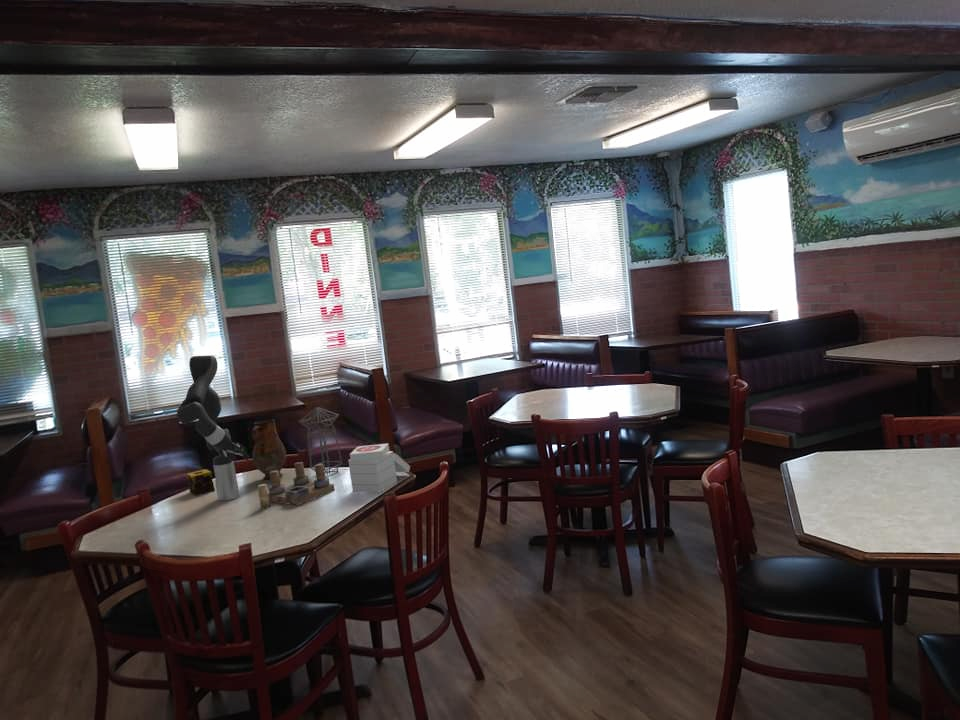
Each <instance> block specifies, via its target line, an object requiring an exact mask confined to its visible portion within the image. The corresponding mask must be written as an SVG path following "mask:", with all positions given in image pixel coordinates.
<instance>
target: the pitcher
mask: <svg viewBox="0 0 960 720" xmlns="http://www.w3.org/2000/svg"><path fill="white" fill-rule="evenodd" d="M253 425H254V427H253V428H252V429H251V430H252V431H251V436H252V439H253V441H254V442H255V443H254V447H253V449H252V461H253V465H254V466H255V467H256V469H257V470H258V471H260V473H262V474H263V475H264V477H263V478H262V480H263V481H265V480H270V481H271V479H270V472H271V471H279V477H281V476H282V475H283V476H284V474H283V473H281V471H282V468H283V467H284V466H285V463H286V460H287V451H286V447H285V445H284V443H283V442H282V441H281V438H280V437H279V435H278V432H277V427H276V420H275V419H273V418H272V419H267V420H258V421H255V422H253ZM283 476H282V477H283ZM282 477H281V478H282Z"/></svg>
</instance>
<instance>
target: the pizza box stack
mask: <svg viewBox="0 0 960 720" xmlns="http://www.w3.org/2000/svg"><path fill="white" fill-rule="evenodd" d="M349 457H350V459H348V460H347V461H348V466H349V474H350V480H351V488H352V492H360V493H361V492H362V493H365V492H366V493H367V492H368V493H369V492H371V493H380V492H379V491H381V490H383V489H384V490H386V489H388V488H390V487H392V486H393V485H395V484H396V483H398V478H397V473H410V469H411V465H409V463H407V462H406V461H405V460H404V459H403V458H401V457H400V456H399V455H398V454H397V453H396V452H395V453H394V451H391V450H390V445H389V443H379V444H371V445H361V446H360V445H359V446H357V447H355V449H353V450H352V451H351V452H350V453H349ZM394 483H395V484H394ZM389 486H390V487H389ZM387 487H388V488H387ZM385 488H386V489H385ZM384 490H383V491H384ZM376 491H378V492H376ZM381 492H382V491H381Z"/></svg>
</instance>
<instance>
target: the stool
mask: <svg viewBox="0 0 960 720" xmlns="http://www.w3.org/2000/svg"><path fill="white" fill-rule="evenodd" d="M324 465H325V464H324ZM324 465H323V463H322V464H319V463H317V464H314V466H315V467H314V469H315V471H314V472H315V477H316V479H313V481H310V478H309V475H306V473H305V467H304V462H303V461H300V462H296V463H294V471H295V477H293V484H291V485H287V486H285V484H282V483H281V478H280V477H279V471H271V472H270V479H271V480H270V485H271V486H269V487H268V495H269V502H270V501H274V502H273V503H277V502H281V503H280V504H284V503H289V504H288V505H291V504H296V505H295V506H299V505H298V504H300V503H302V504H304V503H303V502H305V501H307V500H310V499H312V500H314V499H313V498H315V497H317V498H319V497H318V496H320V497H322V496H324V495H323V494H325V495H327V494H329V492H330V493H331V491H332V492H333V491H335V484H334V483H330V478H329V477H327V476H326V473H325V471H324ZM326 493H327V494H326ZM321 495H322V496H321ZM315 499H316V498H315ZM310 501H311V500H310ZM307 502H308V501H307ZM305 503H306V502H305ZM300 505H301V504H300Z"/></svg>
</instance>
